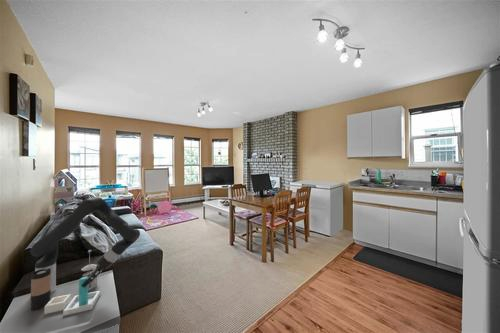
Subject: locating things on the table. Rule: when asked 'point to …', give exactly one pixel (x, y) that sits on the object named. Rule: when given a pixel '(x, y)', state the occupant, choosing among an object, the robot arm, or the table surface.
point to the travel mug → (40, 288)
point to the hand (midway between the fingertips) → (85, 282)
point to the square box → (57, 304)
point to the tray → (75, 308)
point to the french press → (88, 268)
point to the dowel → (83, 292)
